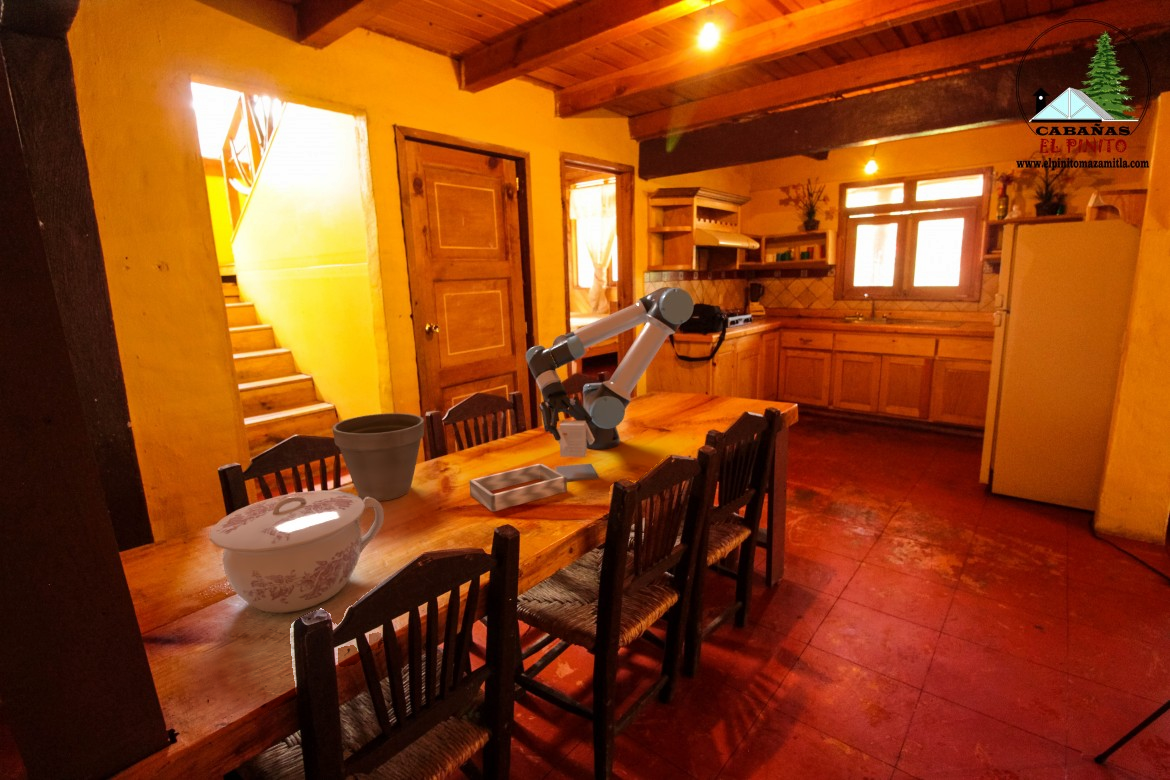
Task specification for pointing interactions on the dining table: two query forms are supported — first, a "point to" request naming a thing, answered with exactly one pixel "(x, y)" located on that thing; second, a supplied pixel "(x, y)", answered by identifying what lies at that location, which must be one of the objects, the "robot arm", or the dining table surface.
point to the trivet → (577, 472)
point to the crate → (502, 500)
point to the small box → (574, 438)
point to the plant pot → (380, 452)
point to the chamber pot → (294, 547)
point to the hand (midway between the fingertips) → (578, 445)
